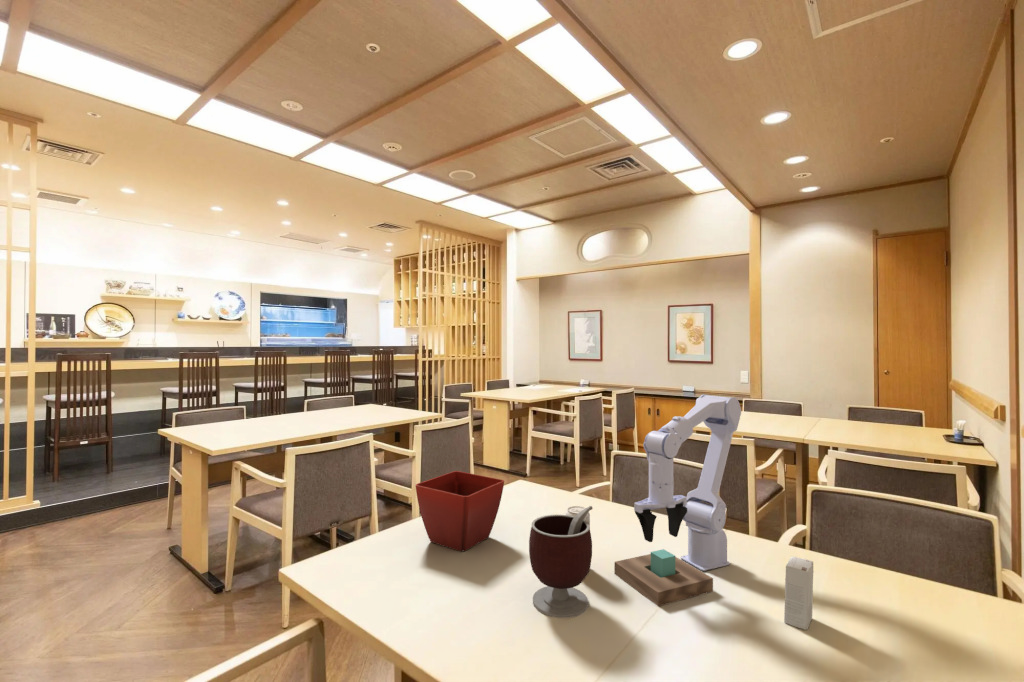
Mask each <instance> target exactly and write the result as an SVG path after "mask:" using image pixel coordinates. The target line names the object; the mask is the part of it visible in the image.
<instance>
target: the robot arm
mask: <svg viewBox="0 0 1024 682" xmlns="http://www.w3.org/2000/svg"><path fill="white" fill-rule="evenodd" d="M741 415H742V407H741V404H740V402H739V400H738V398H736V397H734V396H731V397H730V396H729V397H728V396H719V395H718V396H717V395H709V394H701V395H700V396H699V397H698V398H696V400H695V405H694V406H693V407H692V408H691V409H690V410H689V411H688V412H686V414H685V415H684V416H680V415H679V416H678V415H677V416H676V415H675V416H673V417H672V418H671V420H670V421H669V422H668V423H666V424H665V425H663V426H662V427H660V429H658V430H652V431H650V432H648V433H647V434H646V435H645V438H644V442H643V443H642V444H643V450H644V451H645V454H646V459H647V461H648V497H647V498H644V499H642V500H639V501H635V502H634V503H633V505H634V509H633V510H634V514H635V516H636V517H637V518H638V519H637V520H639V524H640V526H641V530H642V533H643V537H644V540H645V541H646V542H648V543H652V542H653V541H654V528H655V522H656V520H657V519H656V518H657V514H656V515H655V514H654V513H653V512H652V511H653V510H654V511H655V510H658V509H664V508H665V509H666V512H667V513H666V514H667V519H668V521H667V522H668V523H667V524H668V525H667V526H668V534H669V535H670V536H672V537H674V538H678V535H679V531H680V528H681V524H682V522H683V521H684V522H685V526H686V527H688V528H687V537H688V538H687V542H688V543H687V550H688V551H687V554H686V555H683V556H680V560H682V561H684V562H685V563H687V564H689V565H691V566H692V567H694V568H696V569H698V570H699V571H701V572H705V571H709V570H714V569H717V568H721V567H725V566H726V567H727V566H728V565H730V564H731V563H730V562H729V561H728V537H727V533H726V532H725V530H724V529H723V528H724V527H725V525H726V520H727V519H726V510H727V504H726V503H725V502H724V500H723V499H722V497H721V496H720V495H719V492H720V488H721V484H722V481H723V475H724V473H725V468H726V464H727V459H728V456H729V451H730V448H731V444H732V439H733V436H734V432H736V431H738V426H739V423H740V420H741ZM701 423H703V424H704V425H705V426H706V427H707V428H709V430H710V431H711V434H710V437H709V443H708V446H707V450H706V453H705V458H704V462H703V465H702V469H701V474H700V477H699V481H698V485H697V488H694V489H693V490H690V491H689V492H687V494H686V496H685V495H682V494H679V495H678V494H676V495H674V458H675V457H676V456H677V455H678V452H679V449H680V448H681V446H682V444H683V443H684V442H686V441H687V440H688V439H689V438H691V436H692V435H693V433H694V428H695V427H696V426H698V425H700V424H701Z"/></svg>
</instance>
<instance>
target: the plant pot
mask: <svg viewBox="0 0 1024 682" xmlns="http://www.w3.org/2000/svg"><path fill="white" fill-rule="evenodd" d="M504 485H505V480H504V479H500V478H497V477H495V478H494V477H490V476H485V475H482V474H481V475H480V474H476V473H472V472H471V473H469V472H465V471H460V470H454V471H450V472H448V473H445V474H441V475H440V476H436V477H434V478H431V479H428V480H425V481H421V482H419V483H416V484H415V491H416V498H417V503H418V508H419V512H420V516H421V519H422V523H423V525H424V529H425V530H426V531H425V532H426V534H427V536H428V540H429V541H430V542H431V543H434V544H437V545H440V546H442V547H445V548H449V549H453V550H456V551H459V552H465V551H467V550H469V549H471V548H473V547H475V546H476V545H478V544H479V543H481V542H484V541H485V540H487V539H489V537H490V535H491V532H492V529H493V527H494V524H495V521H496V518H497V515H498V513H499V509H500V505H501V500H502V495H503V492H504V491H503V490H504Z"/></svg>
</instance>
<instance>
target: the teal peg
mask: <svg viewBox="0 0 1024 682" xmlns="http://www.w3.org/2000/svg"><path fill="white" fill-rule="evenodd" d="M650 554H651V572H653V573H654V574H656V575H657V576H659V577H660V578H662V577H666V576H670V575H674V574H675V557H676V555H675V554H673V553H672V552H670V551H668V550H666V549H664V548H662V549H658V550H654V551H650Z"/></svg>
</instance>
